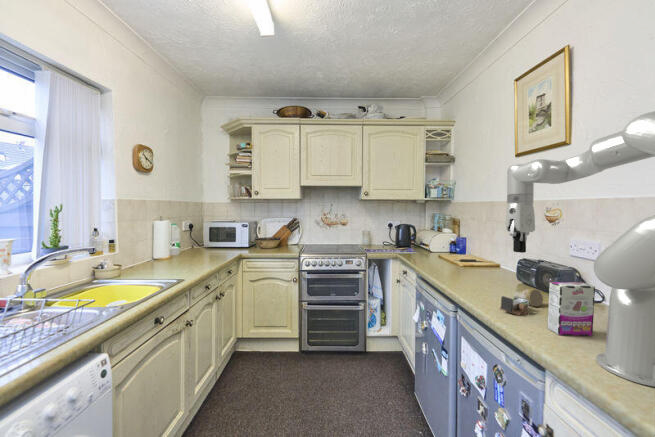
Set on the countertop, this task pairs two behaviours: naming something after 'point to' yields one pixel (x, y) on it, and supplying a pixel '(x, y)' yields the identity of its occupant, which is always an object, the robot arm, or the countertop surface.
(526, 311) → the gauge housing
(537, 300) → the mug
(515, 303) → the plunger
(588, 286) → the candy bar box
